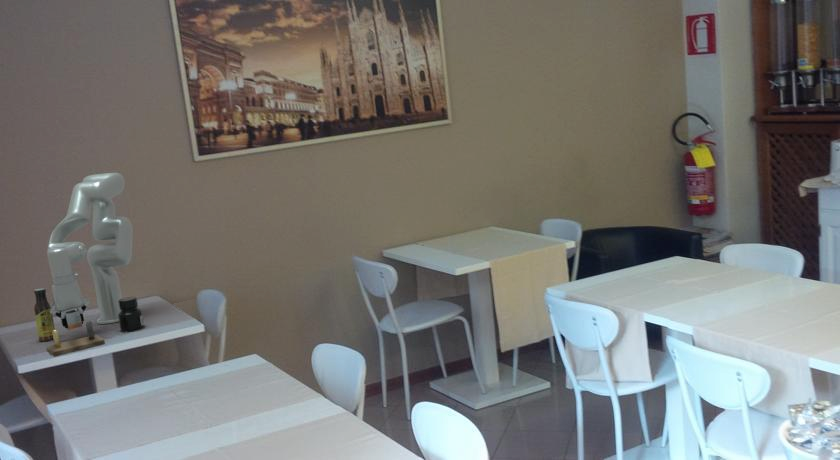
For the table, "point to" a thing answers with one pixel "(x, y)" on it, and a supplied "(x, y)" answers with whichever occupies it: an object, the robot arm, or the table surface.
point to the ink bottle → (130, 315)
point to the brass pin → (56, 338)
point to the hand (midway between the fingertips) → (73, 325)
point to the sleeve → (73, 319)
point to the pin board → (77, 343)
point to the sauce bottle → (43, 316)
